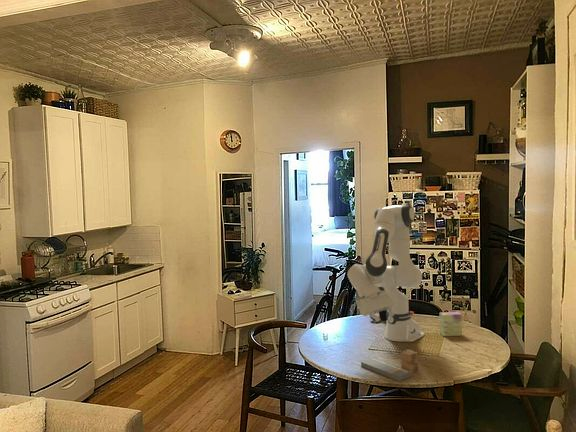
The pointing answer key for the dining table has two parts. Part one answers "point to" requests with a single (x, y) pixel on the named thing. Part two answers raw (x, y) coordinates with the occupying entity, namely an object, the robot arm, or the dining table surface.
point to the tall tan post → (409, 360)
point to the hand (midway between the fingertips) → (385, 318)
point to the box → (450, 323)
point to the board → (386, 369)
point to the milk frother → (381, 315)
